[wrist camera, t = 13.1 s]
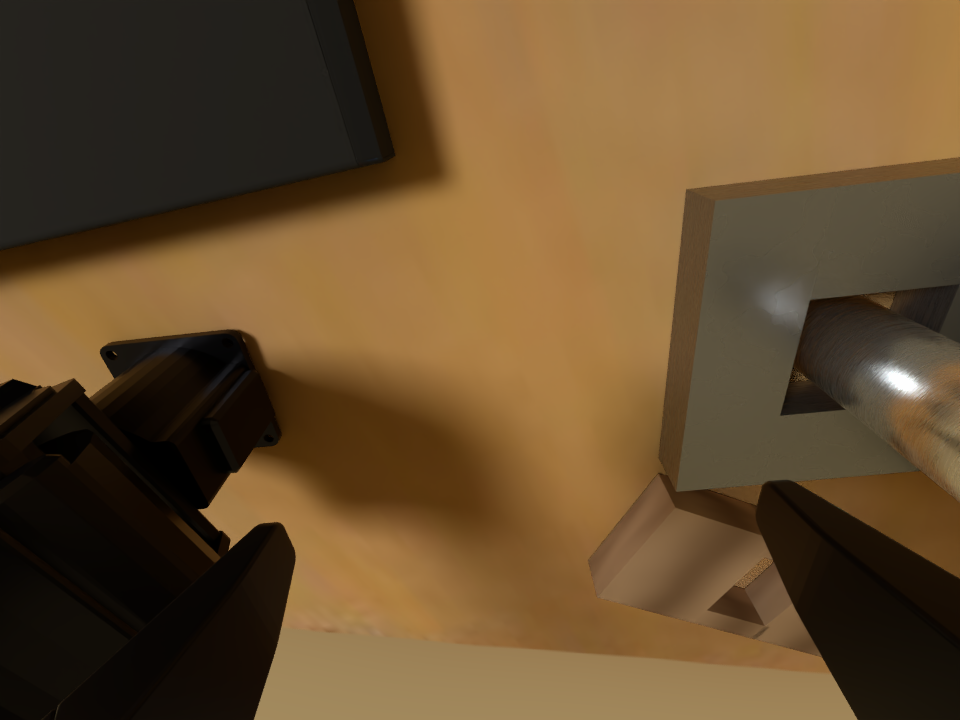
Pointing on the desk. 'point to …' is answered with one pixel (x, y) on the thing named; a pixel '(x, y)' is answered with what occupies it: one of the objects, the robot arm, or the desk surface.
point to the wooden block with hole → (697, 566)
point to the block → (796, 315)
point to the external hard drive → (174, 106)
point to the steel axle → (888, 379)
